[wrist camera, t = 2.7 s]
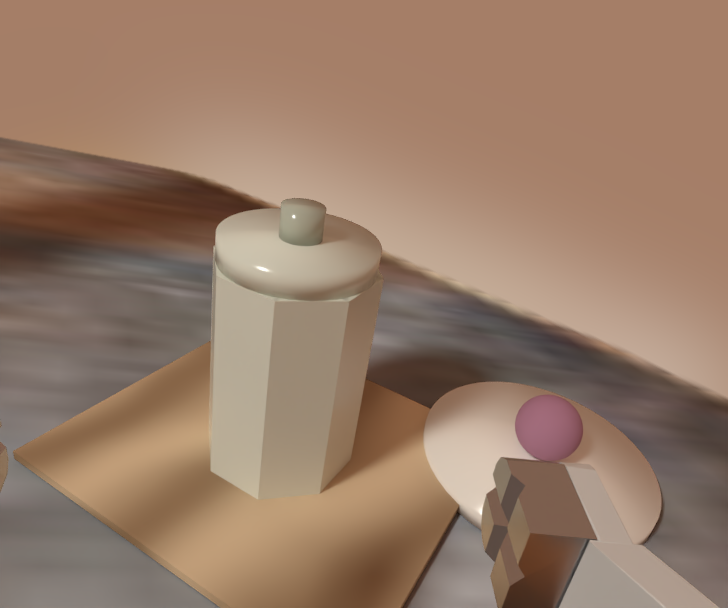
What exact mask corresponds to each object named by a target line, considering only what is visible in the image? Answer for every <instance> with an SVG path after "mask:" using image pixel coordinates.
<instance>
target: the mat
mask: <svg viewBox="0 0 728 608" xmlns="http://www.w3.org/2000/svg"><path fill="white" fill-rule="evenodd" d="M210 362H211V341H209V342H208V343H206V344H204V345H202V346H200V347H199V348H197V349H195V350H193V351H191V352H190V353H188V354H186V355H184V356H182V357H181V358H179V359H177V360H175V361H174V362H172V363H170V364H168V365H166V366H165V367H163V368H161V369H159V370H157V371H156V372H154V373H152V374H150V375H148V376H147V377H145V378H143V379H141V380H140V381H138V382H136V383H134V384H132V385H131V386H129V387H127V388H125V389H123V390H122V391H120V392H118V393H116V394H115V395H113V396H111V397H109V398H107V399H106V400H104V401H102V402H100V403H98V404H97V405H95V406H93V407H91V408H89V409H88V410H86V411H84V412H82V413H81V414H79V415H77V416H75V417H73V418H72V419H70V420H68V421H66V422H64V423H63V424H61V425H59V426H57V427H55V428H54V429H52V430H50V431H48V432H47V433H45V434H43V435H41V436H39V437H38V438H36V439H34V440H32V441H30V442H29V443H27V444H25V445H23V446H22V447H20V448H18V449H16V450H14V451H13V454H14V459H16V460H17V461H18V462H20V463H21V464H23V465H24V466H25V467H27V468H28V469H29V470H31V471H32V472H34V473H35V474H36V475H38V476H39V477H40V478H42V479H43V480H45V481H46V482H47V483H49V484H50V485H52V486H53V487H54V488H56V489H57V490H58V491H60V492H61V493H63V494H64V495H65V496H67V497H68V498H70V499H71V500H72V501H74V502H75V503H76V504H78V505H79V506H81V507H82V508H83V509H85V510H86V511H88V512H89V513H90V514H92V515H93V516H94V517H96V518H97V519H99V520H100V521H101V522H103V523H104V524H105V525H107V526H108V527H110V528H111V529H112V530H114V531H115V532H117V533H118V534H119V535H121V536H122V537H123V538H125V539H126V540H128V541H129V542H130V543H132V544H133V545H135V546H136V547H137V548H139V549H140V550H141V551H143V552H144V553H146V554H147V555H148V556H150V557H151V558H153V559H154V560H155V561H157V562H158V563H159V564H161V565H162V566H164V567H165V568H166V569H168V570H169V571H170V572H172V573H173V574H175V575H176V576H177V577H179V578H180V579H182V580H183V581H184V582H186V583H187V584H188V585H190V586H191V587H193V588H194V589H195V590H197V591H198V592H200V593H201V594H202V595H204V596H205V597H206V598H208V599H209V600H211V601H212V602H213V603H215V604H216V605H218V606H219V607H220V608H403V606H404V604H405V602H406V601H407V599H408V597H409V595H410V594H411V592H412V590H413V588H414V587H415V585H416V583H417V581H418V580H419V578H420V576H421V574H422V573H423V571H424V569H425V567H426V566H427V564H428V562H429V560H430V559H431V557H432V555H433V553H434V552H435V550H436V548H437V546H438V545H439V543H440V541H441V539H442V538H443V536H444V534H445V532H446V531H447V529H448V527H449V525H450V524H451V522H452V520H453V518H454V517H455V515H456V513H457V511H458V508H459V504H458V503H457V502H456V501H455V500H454V499H453V498H452V497H451V496H450V495H449V494H448V493H447V491H446V490H445V489H444V487H443V486H442V485H441V483H440V482H439V481H438V479H437V478H436V476H435V474H434V473H433V471H432V469H431V467H430V465H429V462H428V460H427V457H426V454H425V449H424V443H423V433H424V426H425V422H426V419H427V416H428V413H429V411H430V408H428V407H426V406H423V405H421V404H419V403H417V402H415V401H413V400H410V399H408V398H406V397H404V396H402V395H400V394H398V393H395V392H393V391H391V390H389V389H387V388H385V387H382V386H380V385H378V384H376V383H374V382H372V381H370V380H367V379H365V384H364V389H363V395H362V400H361V406H360V411H359V417H358V422H357V428H356V433H355V439H354V444H353V449H352V455H351V460H350V461H349V462H348V463H347V464H346V465H345V466H344V467H343V468H342V470H341V471H340V472H339V473H338V474H337V475H336V476H335V477H334V478H333V479H332V481H331V482H330V483H329V484H328V485H327V486H326V487H325V488H324V489H323V490H322V491H321V493H320V494H312V495H302V496H292V497H282V498H271V499H261V500H258V499H256V498H254V497H253V496H251V495H249V494H248V493H246V492H244V491H243V490H241V489H239V488H238V487H236V486H235V485H233V484H231V483H230V482H228V481H226V480H225V479H223V478H221V477H220V476H218V475H216V474H215V473H213V472H212V471H211V468H210V446H209V400H210Z"/></svg>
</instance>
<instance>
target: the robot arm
mask: <svg viewBox="0 0 728 608" xmlns="http://www.w3.org/2000/svg"><path fill="white" fill-rule="evenodd" d="M1 426H2V425H1V421H0V427H1ZM7 471H8V455H7V449H6V447H5V446H4V445H3V444H2V443H1V442H0V492H1V489H2V487H3V484H4V481H5V479H6V476H7ZM493 478H494V481H495V485H496V487H495V488H494V489H493V490H491V491H490V492H488V493H487V494H486V497H485V501H484V505H483V508H482V520H481V530H482V540H483V545H484V549H485V552H486V553H487V554H488V555H489V557H490V558H491V559H492V560H493V561H494V562H495V564H494V567H493V570H492V573H491V581H492V585H493V589H494V594H495V598H496V602H497V607H498V608H719V607H718V606H717V605H715V604H714V603H713V602H712V601H710V600H709V599H708V598H707V597H706V596H704V595H703V594H702V593H701V592H699V591H698V590H697V589H696V588H694V587H693V586H692V585H691V584H690V583H688V582H687V581H686V580H685V579H683V578H682V577H681V576H680V575H678V574H677V573H676V572H675V571H674V570H672V569H671V568H670V567H669V566H667V565H666V564H665V563H664V562H663V561H661V560H660V559H659V558H658V557H656V556H655V555H654V554H653V553H651V552H650V551H649V550H648V549H647V548H645V547H644V546H643V545H636V544H633V543H632V541H631V539H630V537H629V535H628V533H627V531H626V529H625V527H624V525H623V523H622V521H621V519H620V517H619V515H618V513H617V511H616V509H615V507H614V506H613V504H612V502H611V500H610V498H609V496H608V494H607V492H606V490H605V488H604V486H603V484H602V482H601V480H600V478H599V476H598V474H597V472H596V470H595V469H594V468H593V467H592V466H591V465H589V464H579V463H567V462H559V463H557V462H550V461H539V460H528V459H518V458H507V457H501V458H500V459H499V460H498V462H497V463H496V466H495V469H494V472H493Z"/></svg>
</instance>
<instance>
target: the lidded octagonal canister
mask: <svg viewBox="0 0 728 608" xmlns="http://www.w3.org/2000/svg"><path fill="white" fill-rule="evenodd" d="M381 253H382V247H381V244H380V242H379V240H378V239H377V238H376V237H375V236H374V235H373V234H372V233H371V232H369V231H368V230H367V229H365V228H363V227H361V226H360V225H358V224H355V223H353V222H350V221H348V220H346V219H343V218H339V217H336V216H333V215H329V214H326V207H325V206H324V205H323V204H321V203H319V202H317V201H313V200H309V199H301V198H292V199H286V200H284V201H282V203H281V208H268V209H257V210H250V211H245V212H241V213H237V214H235V215H232V216H230V217H228V218H226V219H224V220H223V221H222V222H221V223H220V224H219V225H218V226H217V229H216V241H215V246H214V247H213V285H212V324H211V362H210V400H209V446H210V468H211V471H212V472H213V473H215V474H216V475H218V476H220V477H221V478H223V479H225V480H226V481H228V482H230V483H231V484H233V485H235V486H236V487H238V488H239V489H241V490H243V491H244V492H246V493H248V494H249V495H251V496H253V497H254V498H256V499H258V500H261V499H271V498H282V497H292V496H302V495H312V494H320V493H321V491H322V490H323V489H324V488H325V487H326V486H327V485H328V484H329V483H330V482H331V481H332V479H333V478H334V477H335V476H336V475H337V474H338V473H339V472H340V471H341V470H342V468H343V467H344V466H345V465H346V464H347V463H348V462H349V461H350V460H351V455H352V449H353V444H354V439H355V433H356V428H357V422H358V417H359V411H360V406H361V400H362V395H363V389H364V384H365V379H366V373H367V368H368V362H369V357H370V351H371V346H372V340H373V335H374V329H375V324H376V319H377V313H378V308H379V302H380V297H381V291H382V286H383V280H384V278H383V277H382V275H381V273H380V272H379V264H380V259H381Z"/></svg>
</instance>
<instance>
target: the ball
mask: <svg viewBox="0 0 728 608" xmlns="http://www.w3.org/2000/svg"><path fill="white" fill-rule="evenodd" d="M515 432H516V436H517V438H518V441H519V442H520V444H521V446H522V447H523V448H524V449H525V450H526V451H527V452H528V453H529V454H531V455H532V456H534V457H536V458H538V459H541V460H545V461H557V460H561V459H564V458H566V457H568V456H570V455H571V454H572V453H573V452H575V450H576V449H577V448H578V446H579V445H580V443H581V440H582V436H583V424H582V420H581V417H580V415H579V413H578V411H577V410H576V409H575V407H574V406H573V405H572V404H571V403H569V402H568V401H567V400H565V399H563V398H561V397H558V396H555V395H539V396H536V397H533V398H531V399H529V400H528V401H527V402H525V403H524V404H523V405H522V407H521V408H520V409H519V411H518V413H517V416H516V420H515Z"/></svg>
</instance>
